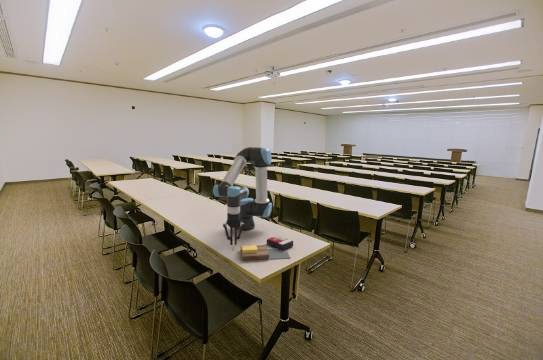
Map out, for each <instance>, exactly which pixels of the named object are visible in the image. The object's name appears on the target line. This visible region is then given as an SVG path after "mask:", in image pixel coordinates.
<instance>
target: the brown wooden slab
mask: <svg viewBox="0 0 543 360" xmlns="http://www.w3.org/2000/svg"><path fill="white" fill-rule="evenodd" d="M242 246H243V245H241V246H240V256H241V262H250V261H251V262H252V261H255V262H256V261H269V260H270V259H269V253H268V251H267V249H268V248H267V246H266V244H261V245H260V244H259V245H256V246H257V249H258V250H257V253H242Z"/></svg>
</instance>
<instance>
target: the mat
mask: <svg viewBox="0 0 543 360" xmlns="http://www.w3.org/2000/svg"><path fill="white" fill-rule="evenodd" d="M267 251H268V253H269V260H271V261H272V260H283V259H284V260H286V259H291V256H290V254H289V252H288V250H287V249H285V250H280V249H278V248H277V247H273V248H267Z"/></svg>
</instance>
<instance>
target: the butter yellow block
mask: <svg viewBox="0 0 543 360" xmlns="http://www.w3.org/2000/svg"><path fill="white" fill-rule="evenodd" d="M241 246H242V253H257V250H258V249H257V246H256V245H253V244H252V245H241Z"/></svg>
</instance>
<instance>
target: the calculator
mask: <svg viewBox="0 0 543 360" xmlns="http://www.w3.org/2000/svg"><path fill="white" fill-rule="evenodd" d="M266 245H269V246H272V247H273V248H278V249H280V250H285V249H286V250H287V249H289V248H291V247H294V240H292V239H289V238H288V237H287V238H286V237H284V236H281V235H275V236H273V237H269V238H267V239H266Z"/></svg>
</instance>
